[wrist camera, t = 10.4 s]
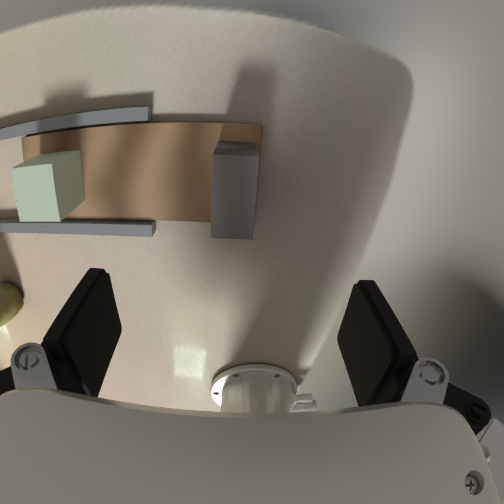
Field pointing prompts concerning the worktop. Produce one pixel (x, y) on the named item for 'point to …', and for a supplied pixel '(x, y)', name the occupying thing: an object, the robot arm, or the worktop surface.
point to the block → (48, 186)
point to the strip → (165, 172)
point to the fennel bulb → (9, 302)
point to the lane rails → (80, 225)
